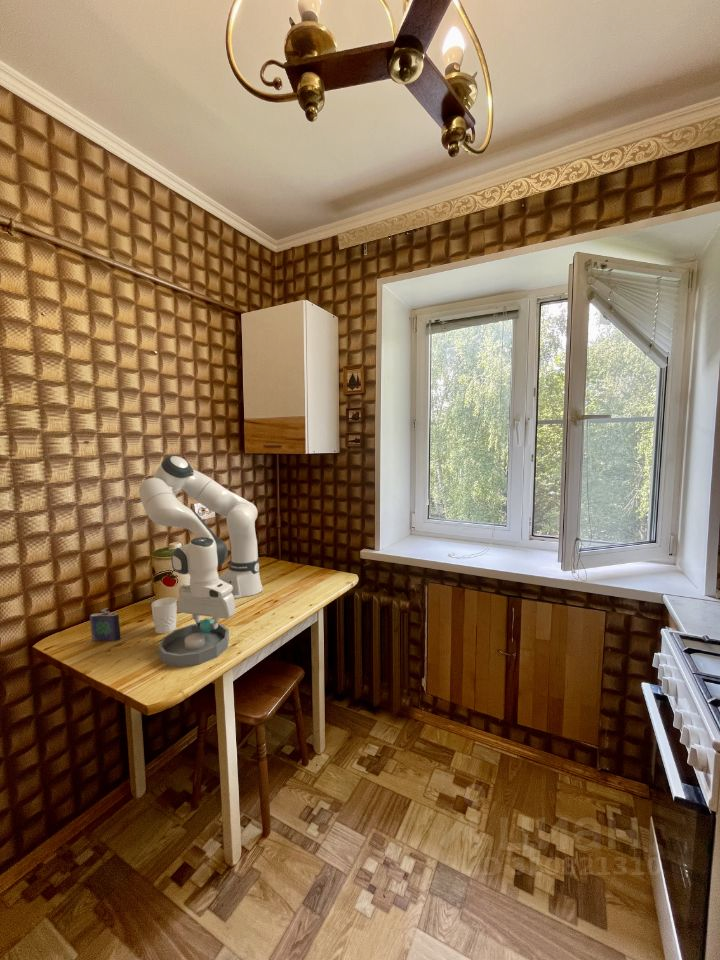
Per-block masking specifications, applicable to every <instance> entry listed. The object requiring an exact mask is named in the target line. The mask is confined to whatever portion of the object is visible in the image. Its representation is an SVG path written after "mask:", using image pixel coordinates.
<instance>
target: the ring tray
mask: <svg viewBox="0 0 720 960" xmlns="http://www.w3.org/2000/svg"><path fill="white" fill-rule="evenodd" d="M229 642H230V629H229V628H227V627H226V626H225V625H224V624H221V623H218V628H216V629H213V630H212V631H210V632H209V633H203V632H202V631H201V630H200V627H197V626H196V623H193V624H189V625H187V626H183V627H180V628H176V629H174V630H173V631H171V632H169V633H167V635H165V636H163V637H162V639H161V641H160V642H159V644H158V646H157V649H158V658H159V660H160V661H161V662H162V663H163V664H164V665H165V666H170V667H175V668H184V667H191V666H197V665H199V666H200V665H202V664H204V663H207V662H209V661H211V660H212V661H213V660H214V659H216V658H218V657H219V656H221V655H222V654H223V653H224V652H225V651H226V650H227V649H228V648H229Z"/></svg>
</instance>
